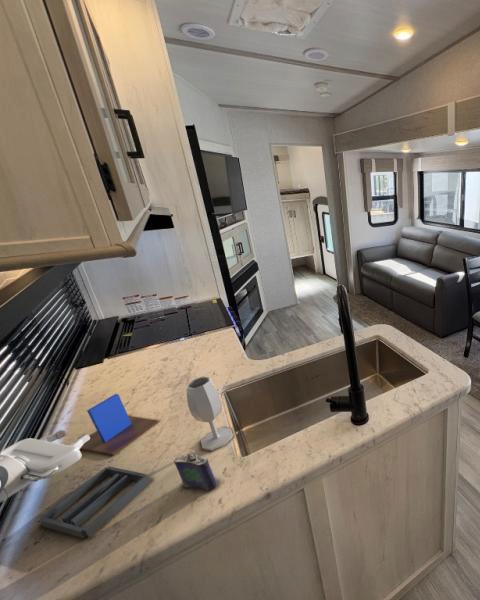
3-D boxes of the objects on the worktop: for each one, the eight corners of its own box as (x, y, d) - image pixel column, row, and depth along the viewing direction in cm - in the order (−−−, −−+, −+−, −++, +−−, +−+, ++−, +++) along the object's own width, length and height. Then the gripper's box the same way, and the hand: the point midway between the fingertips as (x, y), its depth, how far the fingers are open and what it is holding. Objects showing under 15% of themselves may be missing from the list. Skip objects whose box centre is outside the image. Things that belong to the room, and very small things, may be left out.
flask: (181, 487, 79) (168, 456, 76) (191, 477, 82) (178, 446, 78) (212, 492, 77) (200, 460, 74) (221, 482, 80) (210, 450, 76)
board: (74, 448, 94) (73, 446, 94) (122, 417, 107) (121, 414, 107) (113, 456, 91) (112, 453, 90) (158, 422, 103) (157, 420, 103)
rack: (41, 526, 72) (36, 519, 71) (110, 472, 85) (107, 465, 84) (87, 540, 68) (82, 532, 67) (151, 481, 82) (148, 474, 81)
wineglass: (238, 436, 95) (221, 379, 88) (209, 456, 88) (188, 395, 81) (224, 425, 100) (206, 370, 93) (195, 443, 93) (174, 385, 86)
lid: (102, 441, 95) (86, 410, 91) (129, 423, 102) (115, 393, 98) (105, 442, 95) (89, 411, 91) (131, 424, 102) (118, 394, 98)
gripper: (32, 472, 72) (98, 429, 85) (-24, 459, 77) (46, 421, 90) (44, 492, 74) (106, 447, 87) (-11, 478, 79) (56, 438, 92)
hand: (75, 433), depth 88 cm, fingers open, 8 cm apart
